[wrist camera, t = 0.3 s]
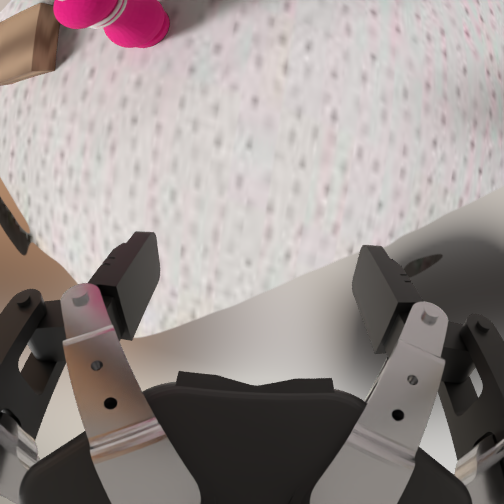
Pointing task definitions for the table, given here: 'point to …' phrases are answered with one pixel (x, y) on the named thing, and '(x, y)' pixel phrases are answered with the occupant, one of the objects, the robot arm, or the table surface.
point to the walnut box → (28, 44)
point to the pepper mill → (117, 19)
